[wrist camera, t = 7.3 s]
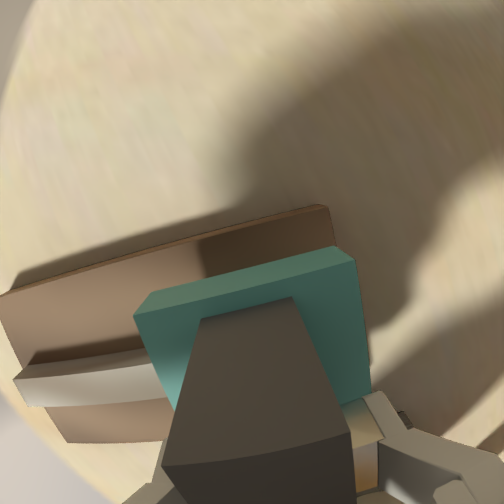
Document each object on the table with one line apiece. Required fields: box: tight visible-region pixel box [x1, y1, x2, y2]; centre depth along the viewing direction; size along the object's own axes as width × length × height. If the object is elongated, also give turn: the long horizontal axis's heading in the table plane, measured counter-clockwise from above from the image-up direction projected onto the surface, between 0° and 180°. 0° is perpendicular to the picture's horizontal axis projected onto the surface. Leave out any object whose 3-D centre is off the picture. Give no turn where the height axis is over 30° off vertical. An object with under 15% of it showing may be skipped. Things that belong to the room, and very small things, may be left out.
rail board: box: [0, 204, 336, 443], centre depth 13 cm, size 9×16×3 cm, turn 104°
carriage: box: [133, 246, 372, 504], centre depth 8 cm, size 7×6×8 cm
